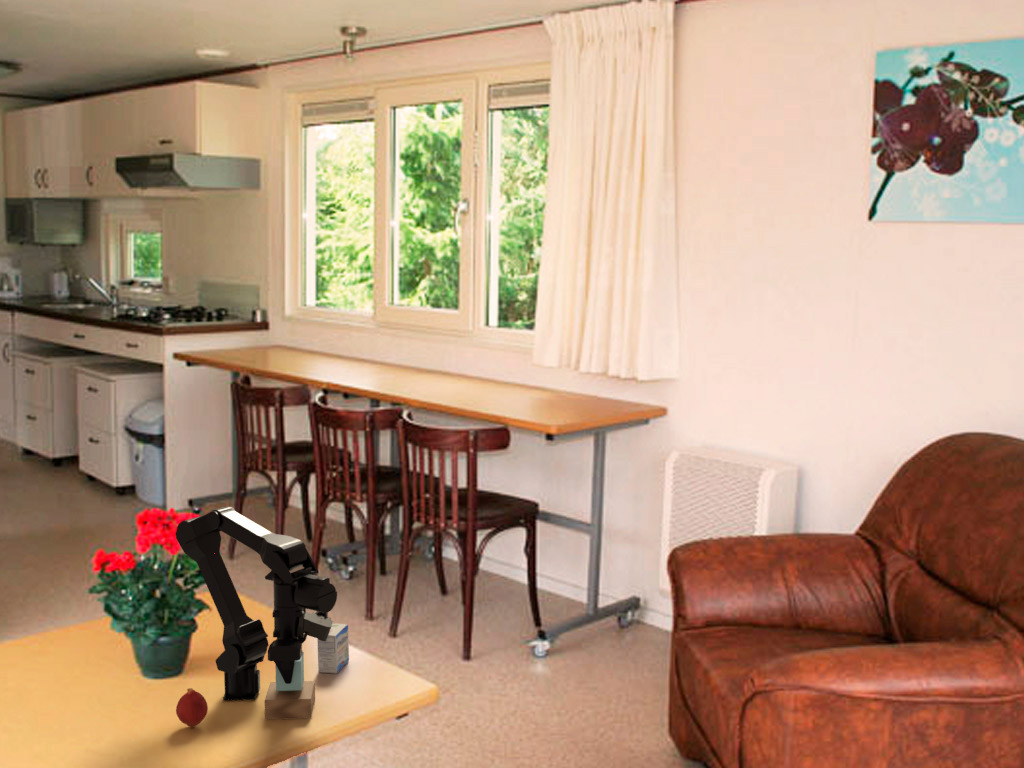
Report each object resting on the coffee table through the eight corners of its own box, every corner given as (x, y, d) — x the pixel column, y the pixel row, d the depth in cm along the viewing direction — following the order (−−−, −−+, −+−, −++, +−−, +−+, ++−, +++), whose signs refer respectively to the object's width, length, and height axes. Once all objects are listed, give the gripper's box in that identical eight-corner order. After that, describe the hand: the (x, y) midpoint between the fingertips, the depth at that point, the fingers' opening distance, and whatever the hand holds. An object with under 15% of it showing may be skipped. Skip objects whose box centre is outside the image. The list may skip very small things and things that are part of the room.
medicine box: (337, 674, 244) (336, 636, 242) (317, 672, 244) (316, 634, 243) (349, 661, 251) (348, 624, 250) (330, 659, 252) (329, 622, 251)
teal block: (276, 690, 222) (275, 662, 221) (279, 680, 227) (278, 652, 226) (301, 690, 223) (300, 661, 222) (304, 680, 228) (303, 652, 227)
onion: (196, 718, 221) (195, 679, 220) (214, 726, 218) (213, 687, 216) (171, 727, 217) (169, 688, 216) (188, 736, 213) (187, 696, 212)
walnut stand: (264, 719, 221) (264, 700, 220) (270, 700, 230) (270, 681, 229) (311, 718, 221) (310, 698, 221) (315, 699, 230) (314, 680, 230)
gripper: (325, 618, 214) (326, 696, 216) (332, 587, 233) (333, 659, 235) (266, 619, 213) (268, 697, 215) (278, 588, 232) (280, 661, 234)
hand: (289, 678), depth 225 cm, fingers closed on teal block, 5 cm apart
